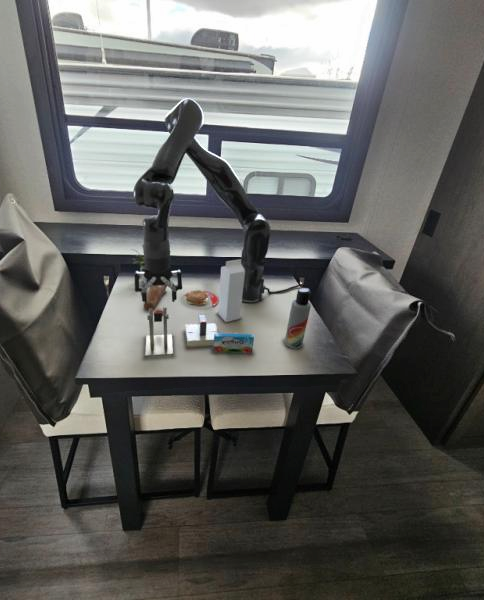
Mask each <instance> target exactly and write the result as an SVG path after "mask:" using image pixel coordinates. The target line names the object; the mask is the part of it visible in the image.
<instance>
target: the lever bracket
mask: <svg viewBox="0 0 484 600" xmlns="http://www.w3.org/2000/svg"><path fill="white" fill-rule="evenodd" d="M167 309H168V308H167V307H162V310H163V317H162V322H163V334H155V329H154V314H153V313H154V310H153V308H149V310H148V314H147V316H146V317H147V321H148V327H149V335H145V349H144V352H145V353H144V356H145V357H158V356H173V355H174V348H173V345H174V344H173V334H171V333H169V334H168V320H169V317H170V316H169V314H168V313H167V312H168V311H167Z"/></svg>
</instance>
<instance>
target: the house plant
mask: <svg viewBox="0 0 484 600" xmlns="http://www.w3.org/2000/svg"><path fill="white" fill-rule="evenodd" d="M143 244H144V243H141V246H142V249H143V251H144V248H143ZM131 250H133V251H134V252H136V253H138V254H139V255H137V257H138V258H139V259H141V261H140V260H137V259H135V258H133V260H134V262H133V265H134V264H137V263H138V266H139V270H140V271H139V272H144V271H145V262H144V256H142V255H141V254H140V253H139V252H138V251H137V250H136V249H133V248H131ZM141 280H142V282H143V284H144V283H145V282H146V280H147V279H146V278H145V277H144V276H142V278H141Z"/></svg>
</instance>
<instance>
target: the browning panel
mask: <svg viewBox="0 0 484 600" xmlns="http://www.w3.org/2000/svg"><path fill="white" fill-rule="evenodd" d="M184 331H185V338H186V346H187V347H201V346H202V347H204V346H213V343H214V334H215V333H218V332H219V331H218V327H217V324H216V323H215V322H213V323H212V322H211V323H207V326H206V336H200V334H199V329H198V323H193V324H191V323H190V324H185V326H184Z"/></svg>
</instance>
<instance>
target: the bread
mask: <svg viewBox="0 0 484 600" xmlns="http://www.w3.org/2000/svg"><path fill="white" fill-rule="evenodd" d="M167 287H168V286H167V285H166V284H165V285H163V286H161V285H157V286H154V285H151V286H150V287H149V288H148V290H147V291H148V292H147V303H145V302H143V308H144V309H145V310H146V311H149V308H153V311H155V309H156V306H157V305H158V303H159V301H160V300H161V298H162V295H163V294H164V293H165V291H166V289H167Z"/></svg>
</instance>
